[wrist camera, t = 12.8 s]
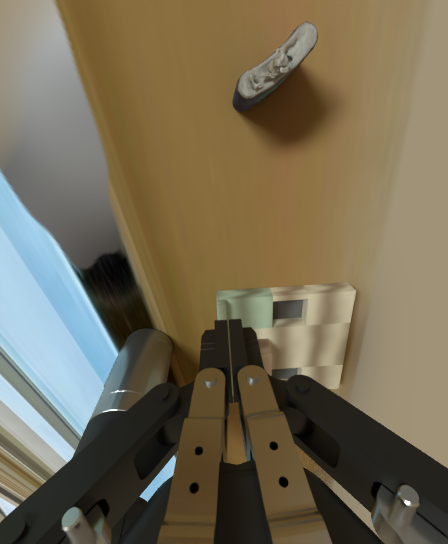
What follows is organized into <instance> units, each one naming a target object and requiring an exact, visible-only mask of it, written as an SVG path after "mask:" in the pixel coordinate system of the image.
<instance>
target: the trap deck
mask: <svg viewBox="0 0 448 544" xmlns="http://www.w3.org/2000/svg"><path fill="white" fill-rule="evenodd" d="M355 294H356V290H355V289H354V288H353V287H352V286H351V285H350V284H349V283H335V284H320V285H305V286H290V287H275V288H260V289H245V290H229V291H217V315H218V320H227V322H228V337H229V351H230V336H229V320H228V319H241V321H242V328H244V327H252V329H253V330H254V331H255V332H256V334H257V339H267V338H268V341H269V345H270V348H271V352H272V377H274V378H277V379H281V380H285V381H287V380H288V379H289V378H290V377H291V376H294V375H306V376H309V377H311V378H312V379H314V380H315V381H317V382H318V383H320V384H321V385H323V386H324V387H326V388H327V389H338V388H339V384H340V378H341V373H342V367H343V361H344V356H345V350H346V345H347V339H348V333H349V328H350V322H351V317H352V311H353V305H354V300H355ZM230 366H231V381H232V396H233V395H234V392H233V379H232V365H231V352H230Z"/></svg>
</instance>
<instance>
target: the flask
mask: <svg viewBox="0 0 448 544" xmlns="http://www.w3.org/2000/svg"><path fill="white" fill-rule="evenodd" d="M317 39H318V34H317V29H316V27H315V26H314V25H313V24H312V23H310V22H305V23H302V24H301V25H300V26H298V27H297V28H296V29H295V30H294V31H293V33H292V34H291V35H290V37H289V38H288V39H287V41H286V42H285V43H284V44H283V45H282V46H281V47H279V48H278V49H277V50H276V51H275V52H274V53H273V54H272V55H271V56H269V57H268V58H267V59H266V60H265V61H263V62H262V63H260V64H259V65H258V66H256V67H254V68H252V69H250V70H248V71H247V72H245V73H244V74H242V75H241V77H240V78H239V80H238V81H237V85H236V89H235V93H234V97H233V102H232V103H233V107H234V108H235V109H236V110H237V111H238V112H244V111H246V110H249V109H251V108H252V107H254V106H256V105H258V103H260V102H261V101H263V100H264V99H265V98H267V97H268V96H269V95H270V94H271V93H272V92H273V91H274V90H275V89H276V88H277V87H278V86H279V85H280V84H281V83H282V82H283V81H284V80H285V79H286V78H287V77H288V76H289V75H290V74H291V73H292V72H293V71H294V70H295V69H296V68H297V67H298V66H299V65H300V63H301V62H302V61H303V60H304V59H305V58H306V56H307V55H308V54H309V53H310V52H311V51H312V49H313V48H314V46H315V44H316V42H317Z"/></svg>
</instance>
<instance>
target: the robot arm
mask: <svg viewBox="0 0 448 544" xmlns="http://www.w3.org/2000/svg"><path fill="white" fill-rule="evenodd" d="M228 320H229V336H230V351H229V337H228V322H227V320H215V329H214V330H206V331H205V332H204V334H203V335H202V339H201V352H200V366H199V373H198V374H197V376H196V378H195V380H194V381H193V382H191V383H190V384H188V385H186V386H183V387H180V388H177V387H176V386H175V385H173V384H171V383H166V382H167V377H168V372H169V367H170V363H171V358H172V353H173V344H172V342H171V340H170V339H169V337H168V336H166V335H165V334H164V333H162V332H160V331H158V330H155V329H140V330H137V331H135V332H133V333H132V334H131V335H130V336H129V337H128V338H127V340H126V342H125V345H124V346H123V347H122V348H121V350H120V352H119V354H118V357H117V359H116V361H115V363H114V365H113V367H112V369H111V371H110V374H109V376H108V378H107V380H106V382H105V384H104V390H103V392H102V394H101V396H100V399H99V401H98V403H97V405H96V407H95V410H94V412H93V414H92V416H91V418H90V420H89V423H88V424H87V427H86V429H85V431H84V433H83V436H82V438H81V440H80V442H79V445H78V447H77V449H76V451H75V453H74V455H73V458H72V459H71V460H70V461H69V462H68V463H67V464H66V465H65V466H63V467H62V468H61V469H60V470H59V471H58V472H57V473H55V474H54V475H53V476H52V477H51V478H50V479H49V480H47V481H46V482H45V483H44V484H43V485H42V486H41V487H40V488H38V489H37V490H36V491H35V492H34V493H33V494H32V495H30V496H29V497H28V498H27V499H26V500H25V501H24V502H22V503H21V504H20V505H19V506H18V507H17V508H16V509H14V510H13V511H12V512H11V513H10V514H9V515H8V516H7V517H6V518H4V519H3V520H2V521H1V523H0V544H448V468H446V467H444V466H443V465H441V464H440V463H439V462H437V461H435V460H434V459H433V458H431V457H429V456H428V455H427V454H425V453H423V452H422V451H421V450H419V449H418V448H416V447H415V446H413V445H412V444H410V443H408V442H407V441H406V440H404V439H403V438H401V437H400V436H398V435H396V434H395V433H394V432H392V431H391V430H389V429H387V428H386V427H384V426H383V425H381V424H380V423H378V422H377V421H375V420H374V419H372V418H371V417H369V416H368V415H366V414H365V413H363V412H362V411H360V410H359V409H357V408H356V407H354V406H353V405H351V404H350V403H348V402H347V401H345V400H344V399H342V398H341V397H339V396H338V395H336V394H335V393H333V392H332V391H330V390H329V389H327V388H326V387H324V386H323V385H321V384H320V383H318V382H317V381H315V380H314V379H312V378H311V377H309V376H306V375H294V376H291V377H290V378H289V379H288V380H287V381H285V380H281V379H277V378H274V377H272V376H270V375H269V374H268V373H267V372H266V371H265V369H264V366H263V361H262V357H261V352H260V348H259V343H258V339H257V334H256V332H255V331H254V330H253V329H252V327H244V328H242V321H241V319H228ZM230 352H231V365H232V379H233V392H234V403H235V402H238V403H239V417H240V424H241V430H242V435H243V441H244V447H245V453H246V459H247V462H245V463H242V464H239V465H234V464H230V463H227V449H228V416H229V403H233V397H232V381H231V366H230ZM295 444H296V445H297V446H298V447H299V448H301V449H302V450H303V451H304V452H305V453H306V454H307V455H308V456H309V457H310V458H311V459H313V460H314V461H315V462H316V463H317V464H318V465H319V466H320V467H321V468H322V469H324V470H325V471H326V472H327V473H328V474H329V475H330V476H331V477H332V478H333V479H334V480H336V481H337V482H338V483H339V484H340V485H341V486H342V487H343V488H344V489H345V490H347V491H348V492H349V493H350V494H351V495H352V496H353V497H354V498H355V499H356V500H358V501H359V502H360V503H361V504H362V505H363V506H364V507H365V508H366V509H367V510H368V511H369V512H371V518H372V523H373V526H374V528H375V531H376V532H377V534H378V535H379V537H380V538H381V539H380V538H379V537H378V536H377V535H376V534H375V533H374V532H373V531H372V530H371V529H370V528H369V527H368V526H367V525H366V524H365V523H364V522H363V521H362V520H361V519H360V518H359V517H358V516H357V515H356V514H355V513H354V512H353V511H352V510H351V509H350V508H349V507H348V506H347V505H346V504H345V503H344V502H343V501H342V500H341V499H340V498H339V497H338V496H337V495H336V494H335V493H334V492H333V491H332V490H331V489H330V488H329V487H328V486H327V485H326V484H325V483H324V482H323V481H322V480H321V479H320V478H319V477H317V476H316V475H315V474H314V473H312V472H310V471H309V470H307V469H305V468H303V467H302V464H301V461H300V458H299V455H298V452H297V449H296V446H295ZM177 451H178V453H177V459H176V464H175V469H174V474H173V476H172V477H171V478H169V479H168V480H167V481H165V482H164V483H163V484H162V485H161V486H160V487H159V488H158V489H157V491H156V492H155V493H154V494H153V496H152V497H151V498H150V500H149V501H148V502H147V501H146V500H144V499H142V498H141V497H139V496H140V495H141V494H142V493H143V491H144V490H145V489H146V488H147V487H148V485H149V484H150V483H151V482H152V481H153V479H154V478H155V477H156V476H157V475H158V473H159V472H160V471H161V470H162V469H163V467H164V466H165V465H166V464H167V463H168V461H169V460H170V459H171V458H172V457H173V455H174V454H175V453H176V452H177Z"/></svg>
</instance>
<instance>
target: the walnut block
mask: <svg viewBox="0 0 448 544" xmlns="http://www.w3.org/2000/svg"><path fill="white" fill-rule="evenodd" d="M258 343H259V348H260V352H261V357H262V361H263V366H264V369H265V371H266V372H267V373H268V374H269V375H270V376H272V352H271V348H270V345H269V341H268V338H267V339H258Z"/></svg>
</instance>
